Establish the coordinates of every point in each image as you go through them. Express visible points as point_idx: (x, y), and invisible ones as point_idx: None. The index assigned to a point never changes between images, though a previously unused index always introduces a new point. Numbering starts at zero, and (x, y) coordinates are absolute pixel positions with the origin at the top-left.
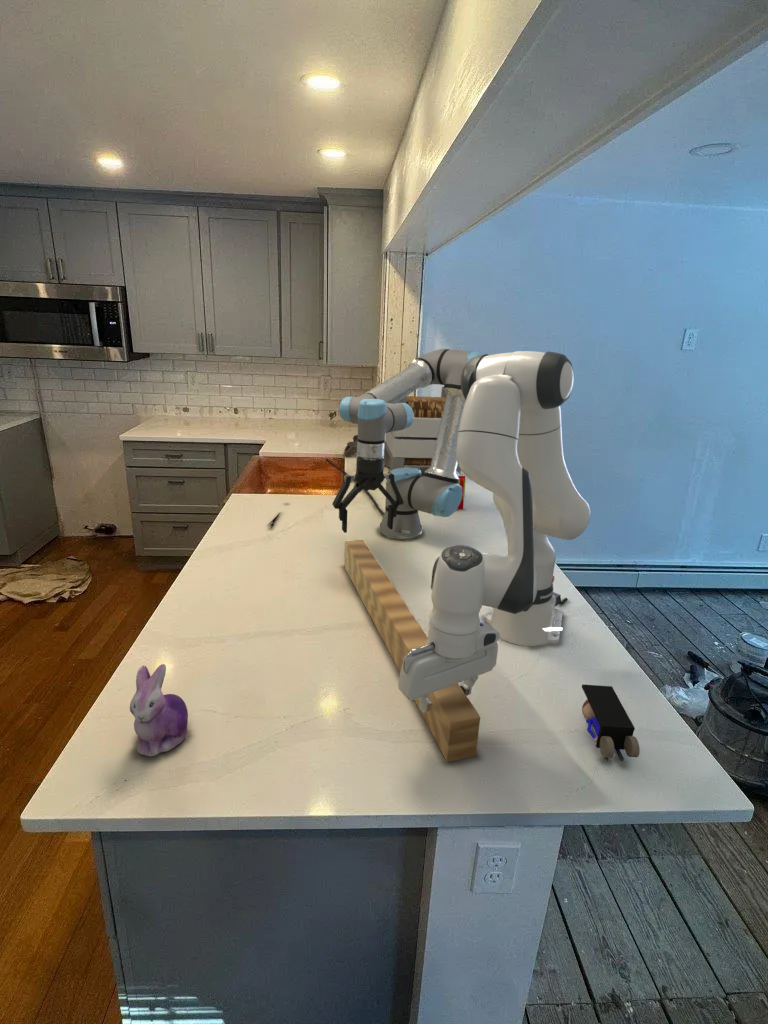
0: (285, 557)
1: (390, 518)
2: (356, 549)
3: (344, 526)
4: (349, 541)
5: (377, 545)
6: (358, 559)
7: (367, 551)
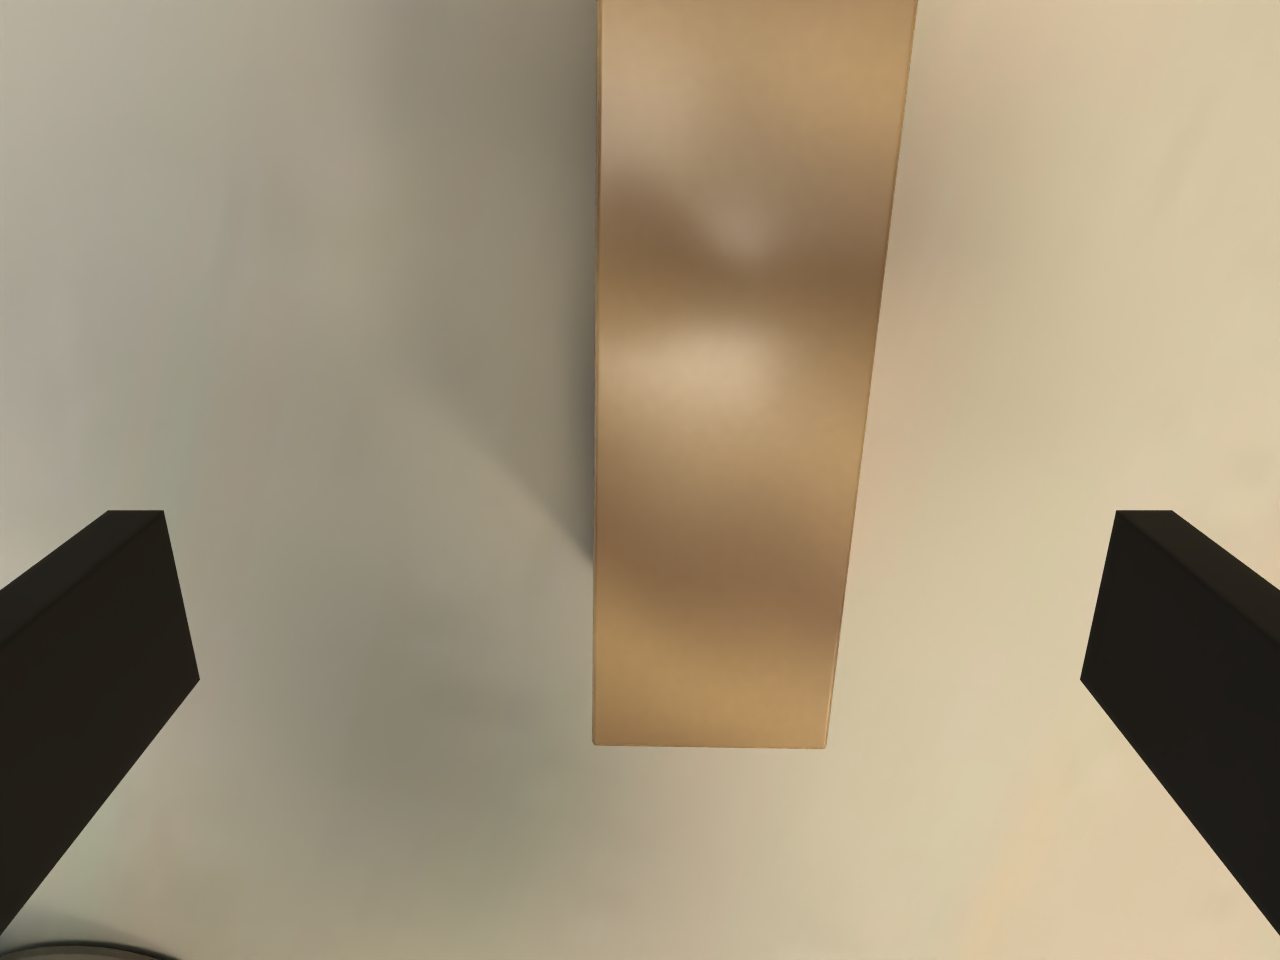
0: (1190, 840)
1: (15, 663)
2: (770, 487)
3: (1257, 575)
4: (775, 730)
5: (364, 903)
6: (860, 145)
7: (641, 393)
